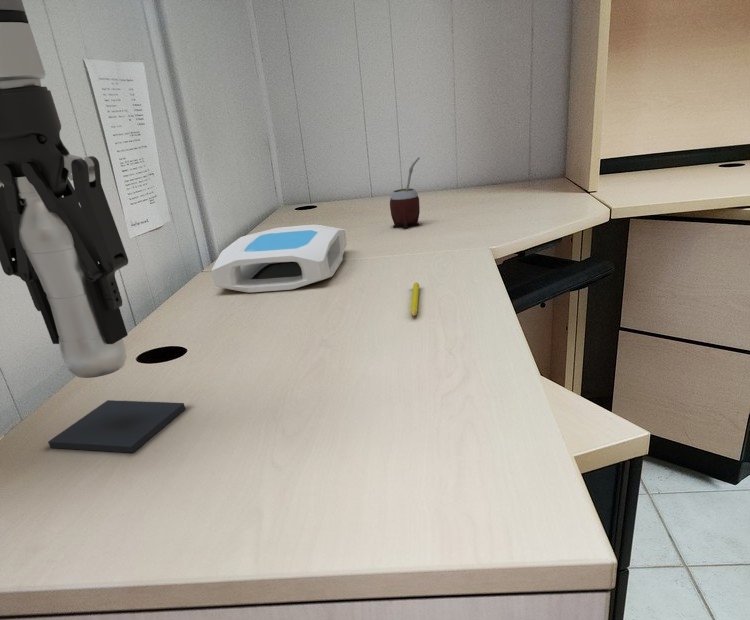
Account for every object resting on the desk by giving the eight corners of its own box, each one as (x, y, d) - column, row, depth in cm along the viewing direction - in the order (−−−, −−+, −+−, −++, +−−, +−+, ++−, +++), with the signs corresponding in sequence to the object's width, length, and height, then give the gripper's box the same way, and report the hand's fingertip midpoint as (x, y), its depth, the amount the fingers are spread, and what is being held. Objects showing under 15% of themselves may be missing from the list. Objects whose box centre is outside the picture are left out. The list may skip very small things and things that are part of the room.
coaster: (50, 447, 74) (47, 441, 73) (109, 405, 83) (107, 399, 82) (133, 453, 71) (130, 446, 70) (185, 408, 79) (184, 402, 79)
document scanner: (348, 251, 143) (344, 221, 139) (326, 287, 119) (321, 252, 116) (254, 259, 146) (248, 229, 142) (215, 295, 123) (207, 261, 119)
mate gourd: (393, 224, 164) (387, 157, 155) (424, 221, 162) (420, 153, 154) (390, 230, 157) (384, 160, 149) (423, 227, 156) (419, 157, 148)
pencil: (413, 288, 113) (413, 282, 112) (419, 288, 113) (418, 282, 112) (410, 319, 99) (409, 312, 98) (416, 318, 99) (416, 312, 98)
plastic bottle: (98, 361, 77) (32, 171, 66) (144, 364, 74) (84, 167, 63) (57, 383, 72) (-21, 181, 61) (105, 387, 69) (33, 177, 59)
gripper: (-113, 101, 58) (-6, 351, 71) (63, 76, 53) (146, 353, 65) (-46, 96, 64) (42, 328, 77) (119, 73, 59) (185, 327, 71)
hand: (90, 339), depth 71 cm, fingers closed on plastic bottle, 6 cm apart
